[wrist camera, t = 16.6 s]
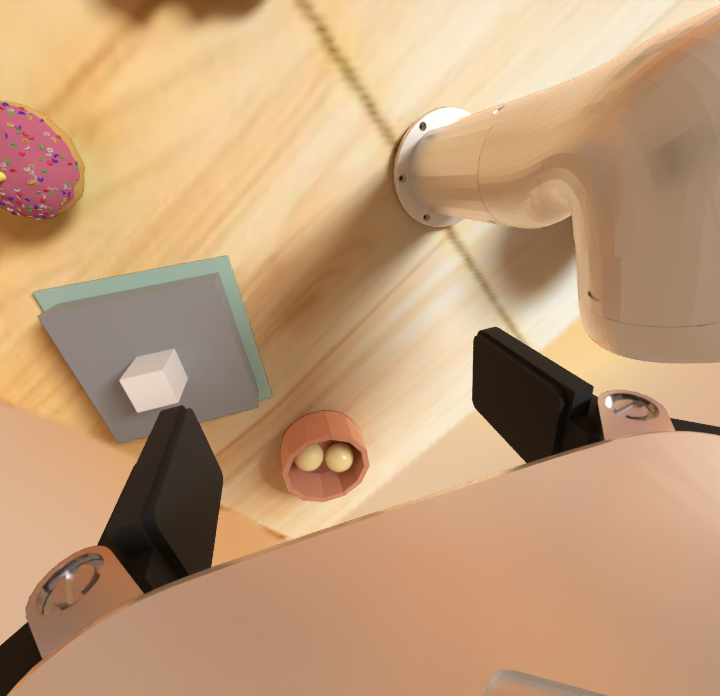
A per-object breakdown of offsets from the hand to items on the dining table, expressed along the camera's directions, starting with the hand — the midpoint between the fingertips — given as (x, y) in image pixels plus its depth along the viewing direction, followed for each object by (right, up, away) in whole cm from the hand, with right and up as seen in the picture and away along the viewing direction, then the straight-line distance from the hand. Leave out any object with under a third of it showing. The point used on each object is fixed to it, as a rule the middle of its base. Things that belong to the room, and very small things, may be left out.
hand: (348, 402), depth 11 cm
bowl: (-6, -13, +43) cm, 46 cm away
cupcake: (-29, +19, +21) cm, 41 cm away
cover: (-23, +1, +31) cm, 38 cm away
